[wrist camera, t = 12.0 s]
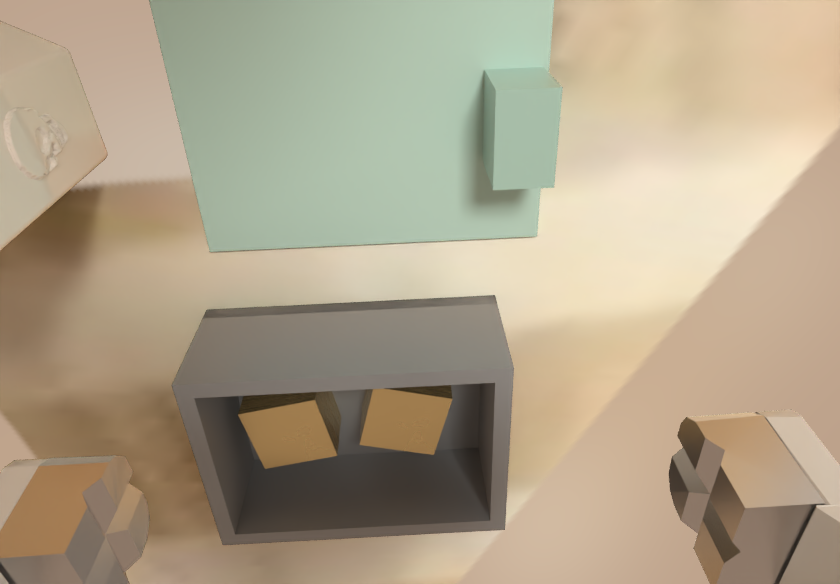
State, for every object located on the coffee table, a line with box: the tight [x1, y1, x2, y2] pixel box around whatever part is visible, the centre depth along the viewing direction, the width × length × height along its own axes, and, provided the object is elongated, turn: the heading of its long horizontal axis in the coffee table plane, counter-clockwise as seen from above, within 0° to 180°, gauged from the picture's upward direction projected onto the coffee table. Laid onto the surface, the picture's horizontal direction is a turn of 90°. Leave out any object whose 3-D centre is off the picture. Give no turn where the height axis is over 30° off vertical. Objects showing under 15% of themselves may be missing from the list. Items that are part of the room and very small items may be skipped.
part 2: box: [360, 385, 453, 455], centre depth 33 cm, size 4×4×3 cm
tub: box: [172, 295, 514, 545], centre depth 33 cm, size 11×15×6 cm
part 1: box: [238, 391, 341, 469], centre depth 33 cm, size 4×4×3 cm
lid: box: [149, 0, 563, 252], centre depth 26 cm, size 12×16×4 cm
